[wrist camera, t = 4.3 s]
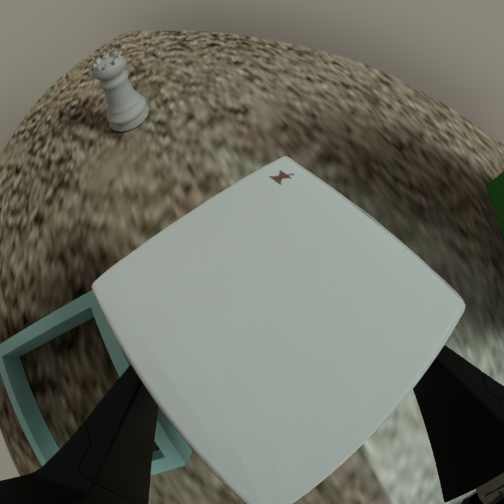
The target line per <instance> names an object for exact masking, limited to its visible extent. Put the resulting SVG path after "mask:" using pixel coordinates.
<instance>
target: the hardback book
mask: <svg viewBox="0 0 504 504" xmlns="http://www.w3.org/2000/svg"><path fill="white" fill-rule="evenodd" d="M486 187H487V189H488V192H489V195H490V197H491V200H492V203H493V206H494V209H495V212H496V215H497V218H498V221H499V225H500V228H501V231H502V235H503V239H504V172H502V173H501V174H500V175H499V176H497V177H496V178H495V179H494V180H493V181H491V182H490V183H489V184H488V185H486Z"/></svg>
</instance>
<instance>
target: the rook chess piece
mask: <svg viewBox="0 0 504 504" xmlns="http://www.w3.org/2000/svg"><path fill="white" fill-rule="evenodd" d="M103 56H104V59H103V60H101V59H100V58H97V59H96V60H95V63H94V64H93V69H94V70H93V72H92V77H93V78H95V79H98V80H100V88H102V89H103V90H104V92H105V94H106V98H107V102H108V105H107V112H106V115H107V121H108V122H109V126H110V127H111V128H112V129H113V130H116V131H120V132H125V131H130V130H132V129H135V128H137V127H138V126H139V125H141V124H142V123H143V122H144V120H145V119H146V117H147V116H148V113H149V106H148V104H147V103H146V99H145V98H144V97H143V96H142V95H140V94H139V93H138V92H136V91H135V90H134V89H133V87H132V86H131V84H130V82H129V80H128V78H127V77H128V72H127V71H126V70H124V67H125V64H126V62H127V61H126V58H124V57H122V56H120V53H117V51H113V52H112V56H109V53H106V54H103Z"/></svg>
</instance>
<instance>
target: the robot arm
mask: <svg viewBox="0 0 504 504" xmlns="http://www.w3.org/2000/svg"><path fill="white" fill-rule="evenodd" d="M413 390H414V393H415V396H416V399H417V402H418V405H419V408H420V411H421V414H422V417H423V420H424V423H425V427H426V430H427V433H428V437H429V440H430V443H431V447H432V451H433V454H434V458H435V462H436V467H437V471H438V475H439V479H440V484H441V488H442V493H443V498H444V502H448V501H450V500H452V499H455V498H457V497H459V496H461V495H463V494H466V493H468V492H470V491H472V490H474V489H476V491H475V492H474V493H473V494H471V495H470V496H468V497H467V498H465V499H464V500H463V502H462V504H504V386H503V385H501V384H499V383H498V382H496V381H495V380H493V379H492V378H491V377H489V376H488V375H486V374H485V373H484V372H482V371H481V370H479V369H478V368H476V367H475V366H474V365H472V364H471V363H469V362H468V361H467V360H465V359H464V358H462V357H461V356H460V355H458V354H457V353H455V352H454V351H452V350H451V349H450V348H448V347H447V346H445V345H444V346H443V348H442V349H441V351H440V352H439V354H438V355H437V357H436V358H435V359H434V361H433V362H432V364H431V365H430V367H429V368H428V369H427V371H426V372H425V373H424V375H423V376H422V377H421V379H420V380H419V381H418V383H417V384H416V385H415V387H414V388H413ZM157 417H158V405H157V403H156V402H155V400H154V399H153V397H152V396H151V395H150V393H149V392H148V390H147V389H146V387H145V386H144V384H143V383H142V381H141V379H140V378H139V376H138V375H137V373H136V372H135V370H134V368H133V367H132V365H131V364H130V366H129V367H128V368H127V369H126V370H125V372H124V373H123V374H122V375H121V377H120V378H119V379H118V380H117V381H116V383H115V384H114V385H113V386H112V388H111V389H110V390H109V391H108V392H107V394H106V395H105V396H104V397H103V399H102V400H101V401H100V402H99V404H98V405H97V406H96V407H95V409H94V410H93V411H92V412H91V414H90V415H89V416H88V417H87V419H86V420H85V422H83V423H82V425H81V426H80V427H79V428H78V430H77V431H76V432H75V433H74V434H73V436H72V437H71V438H70V439H69V440H68V441H67V442H66V443H65V444H64V445H63V446H62V447H61V448H60V449H59V450H58V451H57V452H56V453H55V454H54V455H53V456H52V457H51V458H50V459H49V460H48V461H47V462H46V463H45V464H44V465H43V466H42V467H41V468H40V469H38V470H37V471H35V472H33V473H31V474H27V475H23V476H20V477H15V478H11V479H7V480H2V481H0V504H148V499H149V487H150V475H151V465H152V456H153V447H154V439H155V431H156V424H157Z"/></svg>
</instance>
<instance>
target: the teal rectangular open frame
mask: <svg viewBox="0 0 504 504" xmlns="http://www.w3.org/2000/svg"><path fill="white" fill-rule="evenodd" d="M94 317H95V320H96V323H97V326H98V328H99V331H100V333H101V336H102V338H103V341H104V343H105V346H106V348H107V350H108V353H109V355H110V357H111V360H112V362H113V364H114V366H115V369H116V371H117V373H118V375H119V377H121V375H122V374H123V373H124V372H125V370H126V369H127V368H128V367H129V366H130V364H131V363H130V362H129V360H128V359H127V357H126V355H125V353H124V352H123V350H122V348H121V347H120V345H119V343H118V341H117V340H116V338H115V336H114V334H113V332H112V330H111V328H110V326H109V324H108V322H107V321H106V319H105V317H104V315H103V312H102V310H101V308H100V306H99V304H98V301H97V299H96V297H95V295H94V293H93V290H91V291H89V292H88V293H86V294H84V295H82V296H80V297H79V298H77V299H75V300H73V301H72V302H70V303H68V304H66V305H65V306H63V307H61V308H59V309H58V310H56V311H54V312H52V313H51V314H49V315H47V316H46V317H44V318H42V319H40V320H39V321H37V322H35V323H34V324H32V325H30V326H29V327H27V328H25V329H24V330H22V331H20V332H19V333H17V334H16V335H14V336H12V337H11V338H9V339H7V340H6V341H4V342H3V343H1V344H0V374H1V377H2V380H3V383H4V386H5V388H6V391H7V394H8V396H9V399H10V402H11V404H12V407H13V409H14V411H15V414H16V416H17V418H18V421H19V423H20V425H21V427H22V429H23V431H24V434H25V436H26V438H27V440H28V442H29V443H30V445H31V447H32V449H33V451H34V453H35V455H36V456H37V458H38V460H39V462H40V463H41V465H42V466H43V465H44V464H45V463H46V462H47V461H48V460H49V459H50V458H51V457H52V456H53V455H54V454H55V453H56V452H57V451H58V450H59V448H58V446H57V444H56V442H55V440H54V438H53V437H52V435H51V433H50V431H49V429H48V427H47V425H46V423H45V421H44V418H43V416H42V414H41V412H40V410H39V407H38V405H37V403H36V401H35V398H34V396H33V393H32V391H31V388H30V386H29V383H28V380H27V378H26V375H25V372H24V369H23V366H22V363H21V360H20V357H21V356H22V355H24V354H26V353H28V352H30V351H32V350H34V349H35V348H37V347H39V346H41V345H43V344H45V343H47V342H49V341H50V340H52V339H54V338H56V337H58V336H60V335H62V334H64V333H65V332H67V331H69V330H71V329H73V328H75V327H77V326H79V325H81V324H83V323H84V322H86V321H88V320H90V319H92V318H94ZM154 441H155V442H156V444H157V445H158V447H159V450H156V451H153V456H152V465H151V475H154V474H158V473H161V472H165V471H168V470H172V469H175V468H178V467H181V466H185V465H187V463H188V460H189V458H190V456H191V454H192V450H191V448H190V447H189V445H188V444H187V442H186V441H185V440H184V439H183V438H182V436H181V435H180V434H179V433H178V431H177V430H176V429H175V427H174V426H173V425H172V424H171V422H170V421H169V420H168V418H167V417H166V416H165V414H164V413H163V412H162V410H161V409H160V407H159V406H158V417H157V424H156V431H155V439H154Z"/></svg>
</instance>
